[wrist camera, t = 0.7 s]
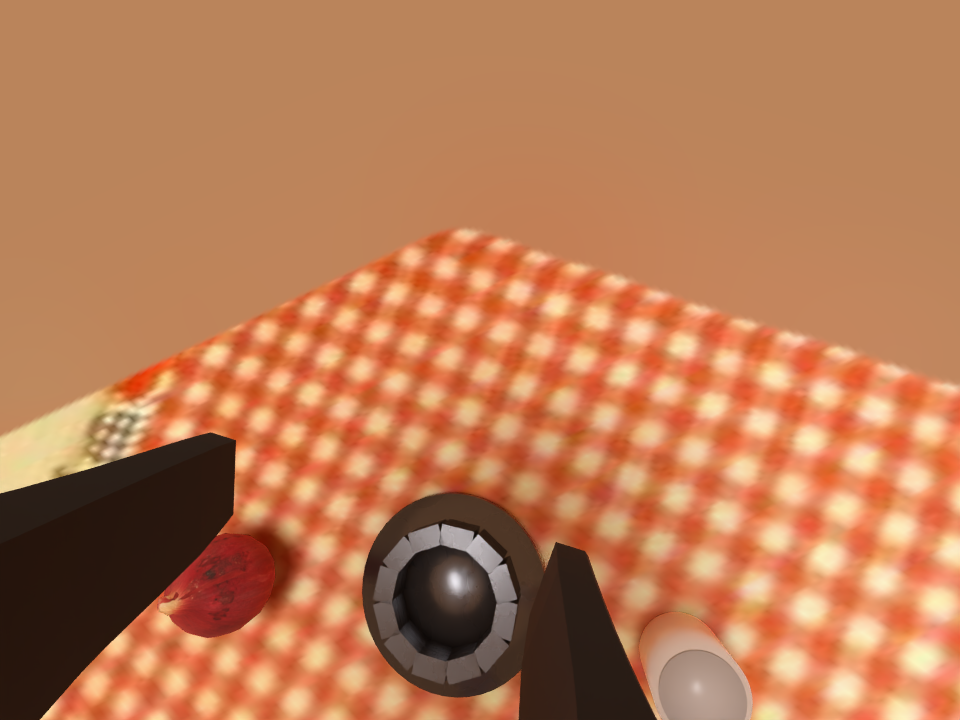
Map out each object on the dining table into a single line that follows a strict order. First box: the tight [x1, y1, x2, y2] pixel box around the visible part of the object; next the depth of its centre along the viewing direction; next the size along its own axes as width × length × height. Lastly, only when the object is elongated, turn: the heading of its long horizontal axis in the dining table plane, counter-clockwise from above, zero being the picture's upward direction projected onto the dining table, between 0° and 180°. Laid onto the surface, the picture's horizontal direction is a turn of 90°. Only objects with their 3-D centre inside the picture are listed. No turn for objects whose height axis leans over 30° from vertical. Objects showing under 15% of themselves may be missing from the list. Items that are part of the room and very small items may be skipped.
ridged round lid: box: [362, 493, 545, 697], centre depth 29 cm, size 12×12×3 cm
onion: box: [157, 533, 275, 638], centre depth 29 cm, size 6×6×8 cm
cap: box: [639, 612, 753, 720], centre depth 25 cm, size 5×5×5 cm
